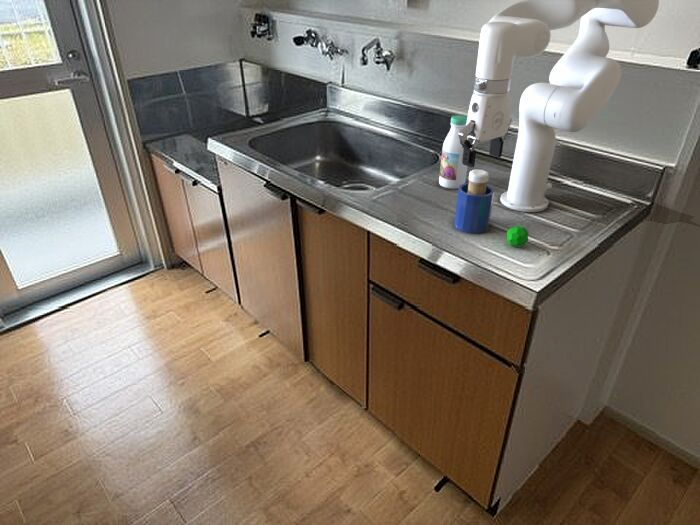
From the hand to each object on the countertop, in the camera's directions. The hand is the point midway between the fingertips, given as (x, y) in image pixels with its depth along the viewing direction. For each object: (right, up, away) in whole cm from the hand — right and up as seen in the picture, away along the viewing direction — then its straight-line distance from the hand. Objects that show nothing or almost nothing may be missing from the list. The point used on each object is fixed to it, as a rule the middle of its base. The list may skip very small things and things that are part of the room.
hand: (481, 160), depth 116 cm
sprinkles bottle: (0, -14, +9) cm, 17 cm away
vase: (0, -15, +9) cm, 17 cm away
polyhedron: (+8, -20, +1) cm, 22 cm away
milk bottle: (-1, -1, +31) cm, 31 cm away
